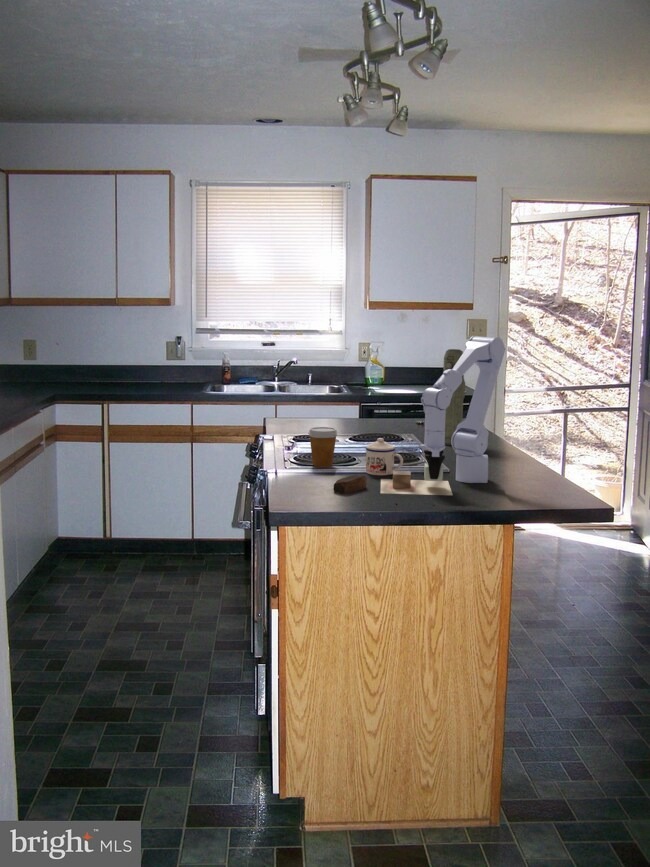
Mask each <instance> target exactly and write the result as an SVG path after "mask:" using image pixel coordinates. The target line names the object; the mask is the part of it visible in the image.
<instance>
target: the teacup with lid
mask: <svg viewBox="0 0 650 867" xmlns="http://www.w3.org/2000/svg"><path fill="white" fill-rule="evenodd" d="M384 440H385V439H384V438H383V437H379V438H377V440H376V441H374V442H372V443H370V444H367V445H366V446H365V450H366V452H365V455H366V456H365V473H366V474H368V475H372V476H389V475H393V471H398V470H400V468H401V467H402V466H403V463H404V458H403V456H402V455H401V454H399V453H395V450H396V447H395V446H394V445H393V444H390V443H388V442H387V441H384ZM395 457H397V458H398V459H399V464H398V466H396V467H395Z"/></svg>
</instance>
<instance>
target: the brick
mask: <svg viewBox="0 0 650 867" xmlns="http://www.w3.org/2000/svg"><path fill="white" fill-rule="evenodd" d="M366 488H367V477H366V475H363V474H352V475H350V476H349V475H348V476H345V477H342V478H340V479H337V480H336V481H335V483H333V493H336V494H341V495H347V494H350V493H353V492H357V491H360V490H363V489H366Z"/></svg>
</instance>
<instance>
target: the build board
mask: <svg viewBox="0 0 650 867" xmlns="http://www.w3.org/2000/svg"><path fill="white" fill-rule="evenodd" d="M380 494H389V495H390V494H392V495H393V494H394V495H395V494H397V495H423V496H424V495H425V496H426V495H428V496H430V495H431V496H453V492H452V488H451V486H450V483H449V481H448V480H443V481H425V479H424V480H423V479H411V486H410V489H408V488H393V478H392V479H391V478H380Z"/></svg>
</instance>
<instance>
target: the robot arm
mask: <svg viewBox="0 0 650 867" xmlns="http://www.w3.org/2000/svg"><path fill="white" fill-rule="evenodd" d="M464 347H465V350H464V351H463V354H462V356H461V357H460V359H459V360H458V361H457V363H456V364H455V366H454V367H453V369H448V370H445V371H444V370H443V371H442V375H441V376H440V377H439V378H438V379H437V380H436V382H435V383H434V384H433V385H432V386H431V387H428V388H426V389H425V390H424V391H423V392H422V396H421V397H420V402H421V404H422V406H423V413H424V442H423V444H420V445H419V448H420V449H421V448H422V449H423V453H424V457H425V460H426V462H427V463H428V467H429V475H430V479H438V476H439V472H440V468H441V464H442V465H443V462H444V460H445V458H446V456H445V455H444V450H445V449H446V445H445V414H446V408H447V407H448V406H449V405H450V402H451V398H452V395H453V393H454V391H455V390H456V389H457V388H458V387H459V385H460V384H461V383H462V376H463V375H464V376H465V374H466V372H468V371H469V369H471V367H473V365H474V364H475V366H477V367H478V368H479V374H478V378H477V380H476V384H475V387H474V391H473V394H472V398H471V400H470V403H469V404H470V405H469V407H468V411H467V415H466V417H465V419H464V420H462V422H461V423H460V424H458V425H457V429H456V431H455V432H454V434H453V436H452V439H451V445H450V446H451V448H452V449H453V450H454V453H455V454H456V461H455V463H456V464H455V481H457V482H460V483H468V484H474V483H476V484H479V483H480V484H481V483H482V484H487V483H488V480H489V479H488V478H489V456H488V454H484V453H485V452H486V450H487V449H488V445H489V443H488V442H489V440H488V439H489V435H490V432H489V431H488V429H487V428H486V427H485V424H484V423H485V420H486V416H487V414H488V410H489V407H490V402H491V400H492V395H493V392H494V389H495V386H496V382H497V380H498V376H499V373H500V368H501V367H502V363H503V359H504V356H505V353H506V346H505V344H504V342H503V339H502V338H500V337H498V336H497V337H493V336H478V335H472V336H471V337H470V338H469V339H468V341H467V342H466V343H465V346H464Z"/></svg>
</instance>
